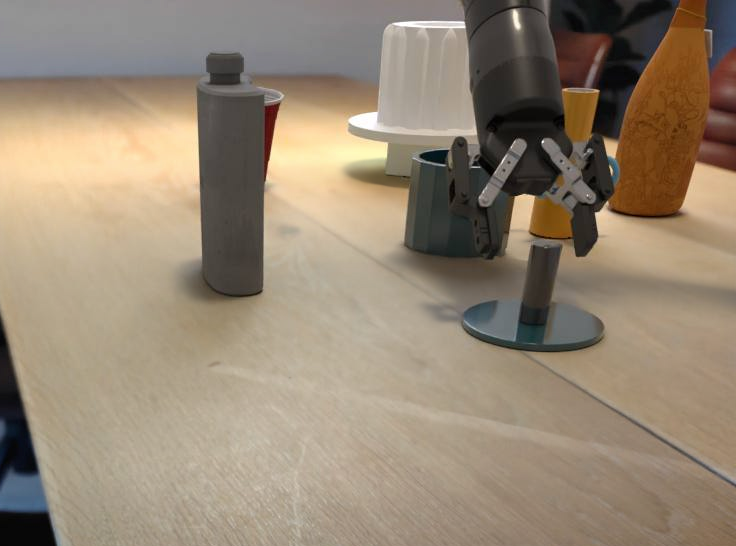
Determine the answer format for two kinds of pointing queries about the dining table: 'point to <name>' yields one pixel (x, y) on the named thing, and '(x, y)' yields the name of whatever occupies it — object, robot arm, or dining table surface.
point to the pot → (447, 209)
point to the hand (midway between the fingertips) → (539, 253)
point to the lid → (535, 312)
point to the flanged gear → (420, 92)
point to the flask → (231, 175)
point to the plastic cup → (270, 122)
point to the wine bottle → (666, 119)
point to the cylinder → (578, 128)
